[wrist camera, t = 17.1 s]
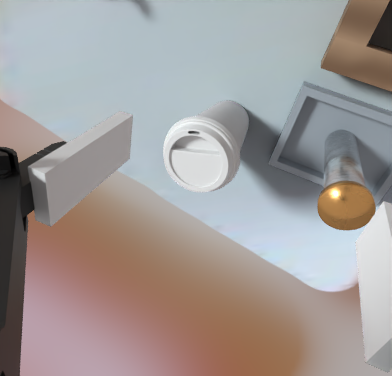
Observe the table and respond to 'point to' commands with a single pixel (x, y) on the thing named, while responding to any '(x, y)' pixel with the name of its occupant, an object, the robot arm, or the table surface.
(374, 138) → the tray
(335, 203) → the hitch pin
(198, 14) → the table surface
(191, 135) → the coffee cup
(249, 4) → the table surface
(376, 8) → the socket block
